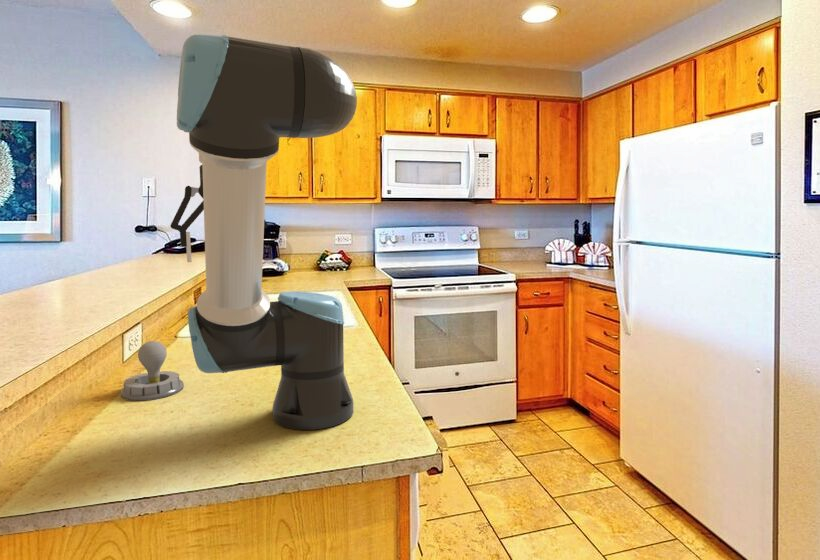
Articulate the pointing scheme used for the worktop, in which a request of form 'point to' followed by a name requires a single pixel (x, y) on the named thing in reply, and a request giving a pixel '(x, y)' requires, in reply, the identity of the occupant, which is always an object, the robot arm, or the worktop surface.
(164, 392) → the socket
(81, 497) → the worktop surface
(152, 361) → the light bulb
